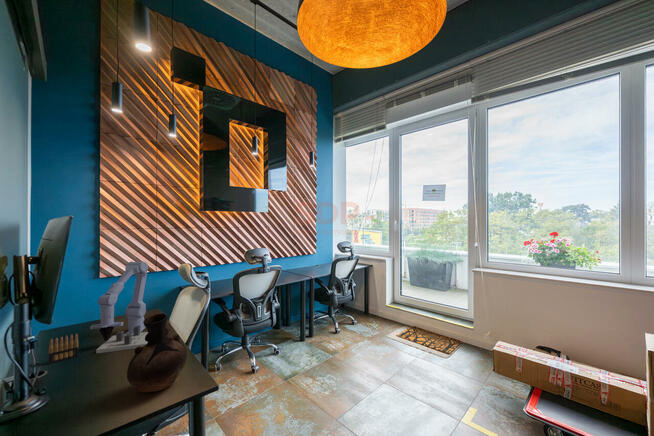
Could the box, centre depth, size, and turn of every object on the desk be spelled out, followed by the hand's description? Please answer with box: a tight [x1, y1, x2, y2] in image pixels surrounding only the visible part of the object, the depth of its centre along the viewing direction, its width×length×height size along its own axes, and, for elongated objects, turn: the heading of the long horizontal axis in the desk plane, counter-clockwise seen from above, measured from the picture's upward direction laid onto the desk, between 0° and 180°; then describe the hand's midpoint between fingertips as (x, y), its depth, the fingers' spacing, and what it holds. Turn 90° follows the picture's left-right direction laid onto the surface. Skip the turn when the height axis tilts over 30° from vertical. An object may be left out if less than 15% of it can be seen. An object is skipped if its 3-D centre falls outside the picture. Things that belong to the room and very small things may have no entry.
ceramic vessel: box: [126, 312, 188, 393], centre depth 108 cm, size 21×18×30 cm
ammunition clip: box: [47, 333, 79, 365], centre depth 130 cm, size 11×2×12 cm, turn 135°
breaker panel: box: [95, 331, 148, 354], centre depth 148 cm, size 18×22×2 cm
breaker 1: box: [124, 333, 132, 344], centre depth 143 cm, size 3×2×4 cm
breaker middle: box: [116, 330, 125, 341], centre depth 147 cm, size 3×2×4 cm
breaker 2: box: [134, 326, 140, 335], centre depth 154 cm, size 3×2×4 cm
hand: (106, 340), depth 145 cm, fingers closed
